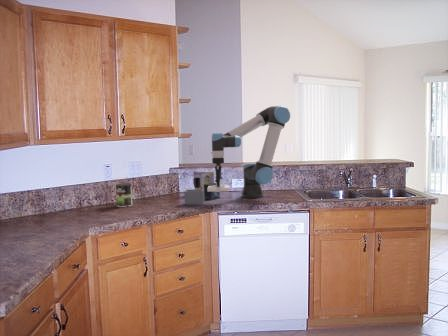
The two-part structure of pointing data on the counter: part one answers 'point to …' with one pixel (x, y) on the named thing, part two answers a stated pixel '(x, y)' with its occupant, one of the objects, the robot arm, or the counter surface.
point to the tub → (194, 197)
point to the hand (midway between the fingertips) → (218, 190)
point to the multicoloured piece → (124, 195)
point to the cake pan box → (202, 178)
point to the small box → (212, 194)
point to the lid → (222, 188)
